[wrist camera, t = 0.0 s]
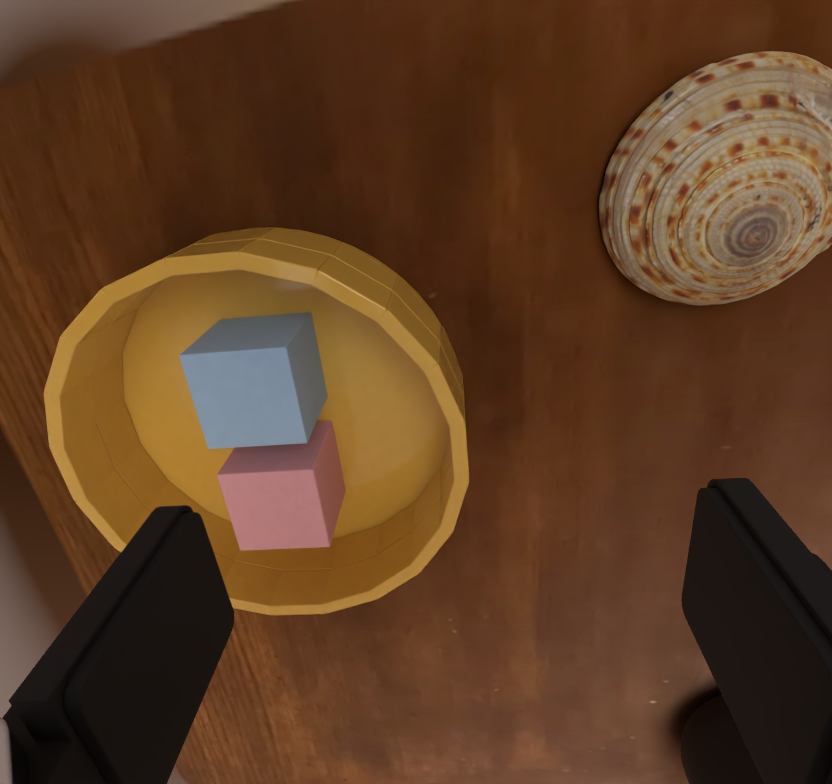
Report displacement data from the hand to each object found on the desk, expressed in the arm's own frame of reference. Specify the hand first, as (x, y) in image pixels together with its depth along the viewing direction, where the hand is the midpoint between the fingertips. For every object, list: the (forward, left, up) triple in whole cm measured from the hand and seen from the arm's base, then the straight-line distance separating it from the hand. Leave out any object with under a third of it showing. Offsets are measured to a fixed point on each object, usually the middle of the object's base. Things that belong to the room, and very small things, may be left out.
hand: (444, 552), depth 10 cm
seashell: (-4, +10, -14) cm, 18 cm away
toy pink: (+6, -8, -14) cm, 17 cm away
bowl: (+4, -8, -14) cm, 17 cm away
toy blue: (+1, -8, -14) cm, 16 cm away
